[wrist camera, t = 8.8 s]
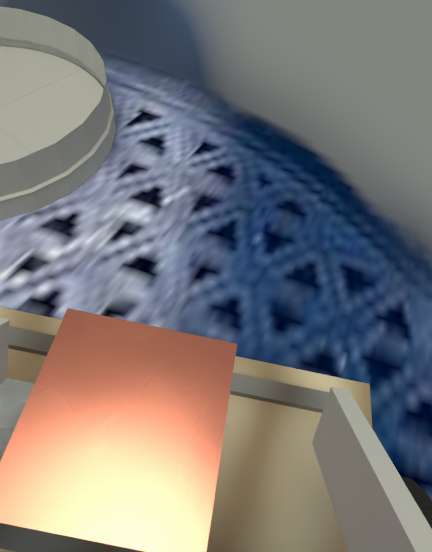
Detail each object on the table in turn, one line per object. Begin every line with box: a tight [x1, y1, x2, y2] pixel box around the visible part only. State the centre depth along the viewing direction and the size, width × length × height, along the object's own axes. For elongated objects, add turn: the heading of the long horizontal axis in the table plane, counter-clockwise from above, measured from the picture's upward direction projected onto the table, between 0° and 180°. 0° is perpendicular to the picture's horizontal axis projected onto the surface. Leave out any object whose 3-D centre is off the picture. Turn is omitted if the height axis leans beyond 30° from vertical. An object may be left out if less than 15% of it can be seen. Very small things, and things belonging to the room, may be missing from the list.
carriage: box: [0, 309, 237, 552], centre depth 11 cm, size 10×6×14 cm, turn 80°
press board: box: [0, 307, 372, 552], centre depth 16 cm, size 30×12×8 cm, turn 80°
